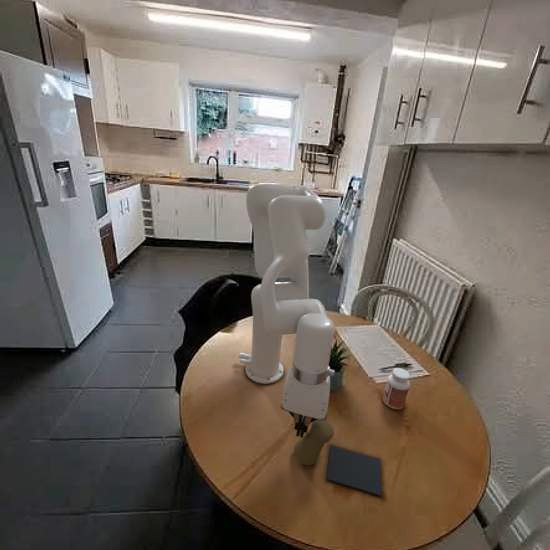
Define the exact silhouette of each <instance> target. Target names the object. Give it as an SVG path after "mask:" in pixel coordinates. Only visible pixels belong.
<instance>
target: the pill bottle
mask: <svg viewBox="0 0 550 550" xmlns="http://www.w3.org/2000/svg"><path fill="white" fill-rule="evenodd" d="M410 376H411V375H410V372H409V371H407V370H406V369H404V368H402V367H401V368H400V367H394V368H393V370H392V372H391V374H389V375H388V377H387V380H386V384H385V389H384V393H383V395H382V401H383V402H384V404H385V405H386V406H388V407H389V408H391V409H393V410H401V409H403V408H404V406H405V404H406V401H407V396H408V393H409V390H410V386H411V383H410Z"/></svg>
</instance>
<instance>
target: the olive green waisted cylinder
mask: <svg viewBox="0 0 550 550" xmlns="http://www.w3.org/2000/svg"><path fill="white" fill-rule="evenodd" d="M333 436H334V428H333V425H332V424H331V422H330V421H328V420H326V421H321V420H316V421H314V422H311V426H310V429H309V430H307V433H304V435H303V438H301V437H300V438H299V439H298V440H297V441H296V442H295V443H294V446H293V453H294V456H295V458H296V459H297V461H299V462H300V463H301V464H302V465H305V466H312V465H314V464H315V463H316V461H317V460H318V458H319V456H320V454H321V452H322V450H323V448H324V446H325V445H326V444H327V443H329V442H330V441H332V439H333Z"/></svg>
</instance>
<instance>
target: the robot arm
mask: <svg viewBox="0 0 550 550" xmlns="http://www.w3.org/2000/svg"><path fill="white" fill-rule="evenodd" d="M245 204H246V206H245V207H246V211H247V216H248V219H249V221H250V224H251V227H252V231H253V250H254V251H253V252H254V268H255V269H254V270H255V273H256V274H257V276H258V277H260V278H262V280H261V283H260V284H257V285H256V286H254V287H253V288H252V291H251V294H250V298H251V299H250V300H251V310H252V332H251V333H252V334H251V348H250V349H251V350H250V353H249V354H247V353H244V352H240V353H239V355H238V358H239V363H240V364H243V365H244V364H245V374H246V376H247V378H249V379H250V380H251V381H253V382H255V383H258V384H263V385H266V384H273V383H276V382H278V381H280V379H281V378H282V377H283V375H284V369H285V368H284V366H283V364H282V363H281V352H282V345H283V344H282V343H283V336H286V335H294V334H295V340H294V341H295V342H294V351H293V357H292V365H290V366H289V369H288V370H287V375H286V379H285V382H284V386H283V392H282V397H281V403H280V410H282V411H285V412H286V413H289V415H290V416H291V417H292V418H293V421H294V431H296V433H295V437H300V439H301V438H303V436H304V435H305V434H306V433H307V432H308V431H309V430H308V429H309V426H310V424H312V423H313V422H314V421H316V420H321V421H326V420H327V419H328V407H329V403H330V393H331V377H333V378H334V377H335V371H336V370H335V369H332V368H331V366H330V360H331V354H332V348H333V343H334V342H333V341H334V336H335V324H334V322H333V320H332V319H331V318H329V317H328V315H327V312H326V308H325V306H324V305H323V303H322V302H321V301H320V300H319V299H316V298H310V282H309V281H310V279H309V278H310V277H309V276H310V275H309V259H308V258H309V257H310V247H309V243H308V238H307V230H309V231H310V230H311V231H313V230H314V231H315V230H319V229H322V227H323V226H324V224H325V222H326V217H327V212H326V207H325V204H324V202H323V200H322V198H321V197H320V196H319V195H318V194H316V193H315V192H314V191H313V190H311V189H310V188H309V187H307V186H306V185H302V184H289V183H271V182H270V183H268V182H265V183H264V182H263V183H256V184H253V185H251V186H250V187H249V188H248V189H247V192H246V197H245ZM285 278H288V279H290V281H282V282H281V281H280V282H278V281H277V279H285ZM276 281H277V282H276ZM327 421H328V420H327Z"/></svg>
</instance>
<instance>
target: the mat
mask: <svg viewBox="0 0 550 550" xmlns="http://www.w3.org/2000/svg"><path fill="white" fill-rule="evenodd" d="M380 460H381V459H380V458H377V457H374V456H370V455H366V454H363V453H359V452H357V451H352V450H349V449H346V448H341V447H339V446H334V445H330V446H329V454H328V464H327V475H326V480H327V481H329V482H332V483H336V484H339V485H342V486H346V487H348V488H351V489H356V490H358V491H361V492H365V493H368V494H372V495H375V496H378V497H382V478H381V463H380V462H381V461H380Z"/></svg>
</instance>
